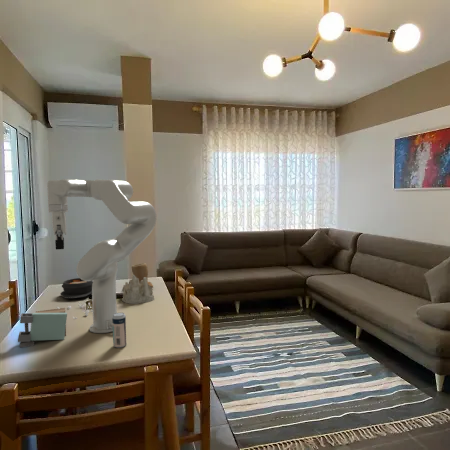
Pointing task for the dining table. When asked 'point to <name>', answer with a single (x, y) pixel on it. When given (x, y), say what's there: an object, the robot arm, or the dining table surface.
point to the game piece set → (80, 307)
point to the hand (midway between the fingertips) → (60, 247)
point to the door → (43, 326)
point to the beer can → (119, 330)
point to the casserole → (76, 288)
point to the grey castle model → (137, 291)
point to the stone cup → (141, 272)
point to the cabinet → (31, 343)
